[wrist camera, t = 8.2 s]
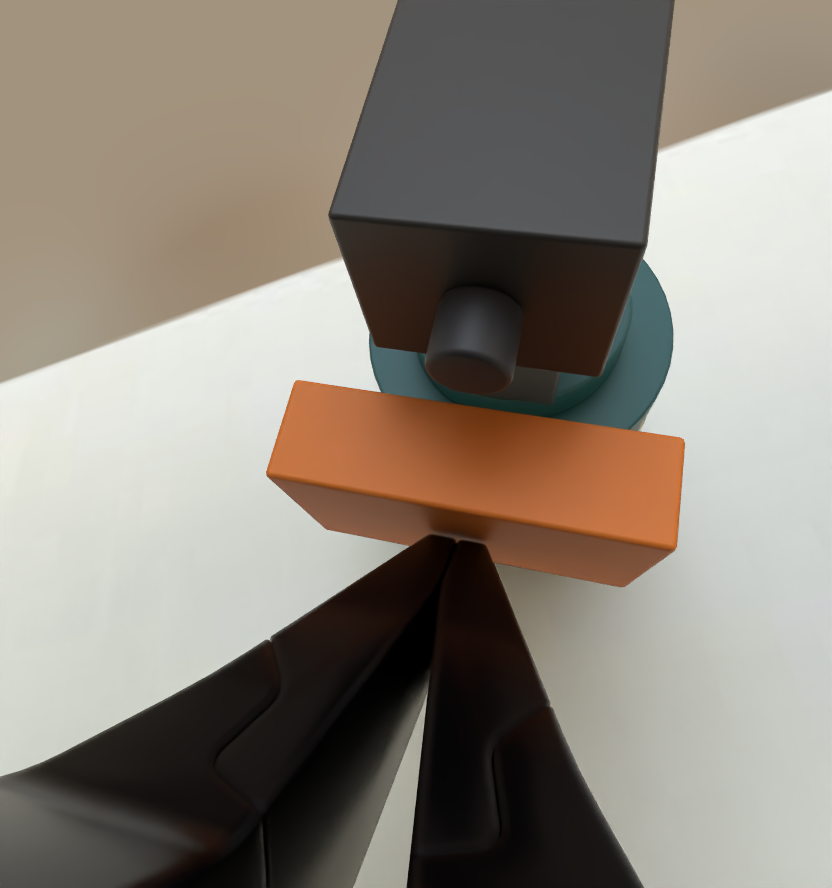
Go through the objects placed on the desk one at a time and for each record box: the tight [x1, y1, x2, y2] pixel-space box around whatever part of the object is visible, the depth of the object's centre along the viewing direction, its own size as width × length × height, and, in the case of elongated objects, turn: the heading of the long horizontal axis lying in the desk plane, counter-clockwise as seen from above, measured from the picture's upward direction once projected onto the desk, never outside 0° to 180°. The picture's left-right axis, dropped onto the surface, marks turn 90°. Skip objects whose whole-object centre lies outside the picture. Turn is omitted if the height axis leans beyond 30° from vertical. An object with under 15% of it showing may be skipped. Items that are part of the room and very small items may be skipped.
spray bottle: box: [328, 0, 675, 431], centre depth 13 cm, size 8×6×15 cm
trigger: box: [266, 380, 685, 587], centre depth 9 cm, size 1×5×3 cm, turn 78°
